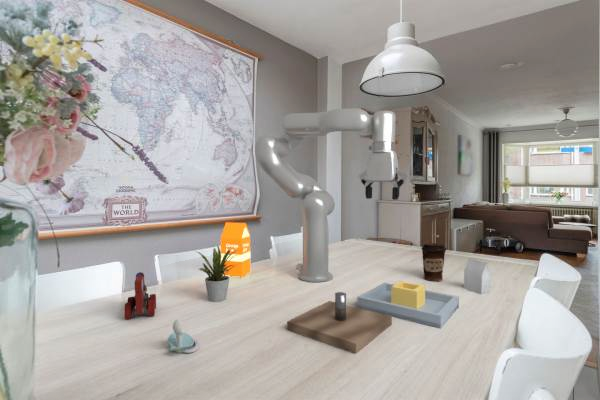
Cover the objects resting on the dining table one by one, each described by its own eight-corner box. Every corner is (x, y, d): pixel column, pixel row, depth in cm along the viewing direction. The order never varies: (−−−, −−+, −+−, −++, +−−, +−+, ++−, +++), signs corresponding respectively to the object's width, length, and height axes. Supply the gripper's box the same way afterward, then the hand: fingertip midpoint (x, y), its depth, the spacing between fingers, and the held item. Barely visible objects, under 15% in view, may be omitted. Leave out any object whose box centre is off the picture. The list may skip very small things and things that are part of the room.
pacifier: (195, 339, 72) (166, 344, 69) (196, 311, 72) (167, 315, 69) (203, 353, 66) (171, 360, 63) (203, 322, 66) (172, 327, 63)
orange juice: (241, 277, 122) (241, 224, 121) (220, 276, 124) (220, 223, 123) (250, 272, 129) (250, 222, 129) (230, 271, 132) (230, 221, 131)
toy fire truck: (156, 304, 94) (156, 268, 94) (154, 320, 82) (153, 279, 82) (129, 307, 91) (128, 270, 91) (123, 324, 80) (122, 281, 79)
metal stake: (332, 319, 78) (333, 294, 78) (338, 315, 80) (338, 291, 80) (342, 321, 76) (342, 296, 76) (348, 318, 78) (348, 293, 78)
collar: (391, 304, 91) (391, 286, 91) (400, 298, 96) (400, 281, 96) (416, 310, 86) (416, 291, 86) (424, 303, 92) (425, 285, 92)
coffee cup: (448, 283, 115) (449, 246, 114) (423, 282, 116) (423, 245, 116) (442, 276, 123) (443, 242, 123) (419, 275, 125) (419, 241, 125)
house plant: (254, 299, 98) (254, 244, 97) (214, 311, 88) (214, 251, 87) (227, 289, 108) (226, 239, 107) (187, 299, 97) (187, 244, 97)
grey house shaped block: (481, 294, 103) (482, 262, 103) (463, 288, 109) (464, 258, 109) (490, 293, 104) (490, 261, 104) (472, 287, 111) (472, 257, 110)
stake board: (287, 329, 77) (287, 321, 77) (329, 307, 91) (329, 300, 91) (355, 353, 66) (356, 343, 65) (391, 324, 80) (391, 316, 80)
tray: (357, 307, 91) (357, 297, 91) (384, 291, 105) (384, 282, 105) (440, 328, 77) (440, 315, 77) (458, 307, 92) (458, 296, 92)
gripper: (355, 149, 114) (353, 198, 115) (403, 145, 103) (401, 200, 104) (365, 151, 120) (364, 197, 121) (412, 148, 109) (410, 199, 109)
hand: (381, 198), depth 112 cm, fingers open, 9 cm apart
